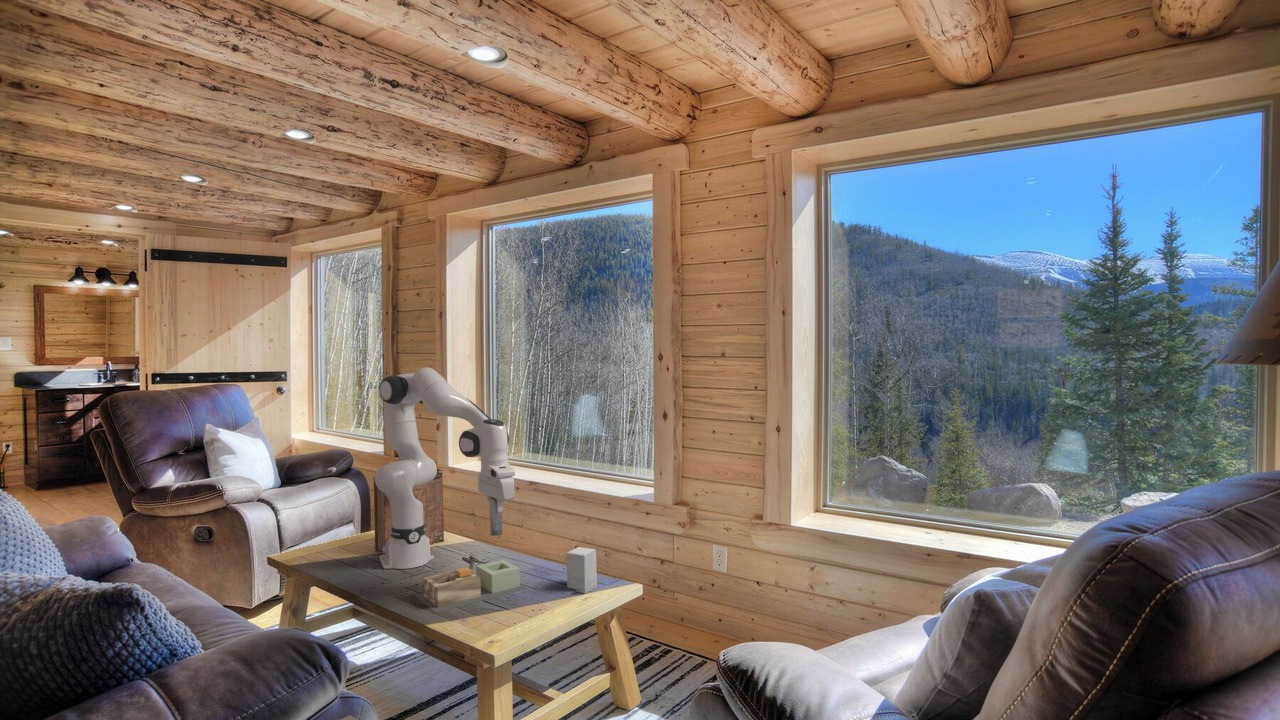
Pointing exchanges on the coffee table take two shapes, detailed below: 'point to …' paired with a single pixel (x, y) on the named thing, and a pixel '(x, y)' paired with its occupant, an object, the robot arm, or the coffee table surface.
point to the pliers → (472, 561)
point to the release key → (463, 572)
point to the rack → (498, 576)
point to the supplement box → (581, 569)
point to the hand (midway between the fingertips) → (495, 509)
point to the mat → (484, 595)
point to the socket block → (451, 588)
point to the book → (432, 512)
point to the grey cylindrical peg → (495, 518)
